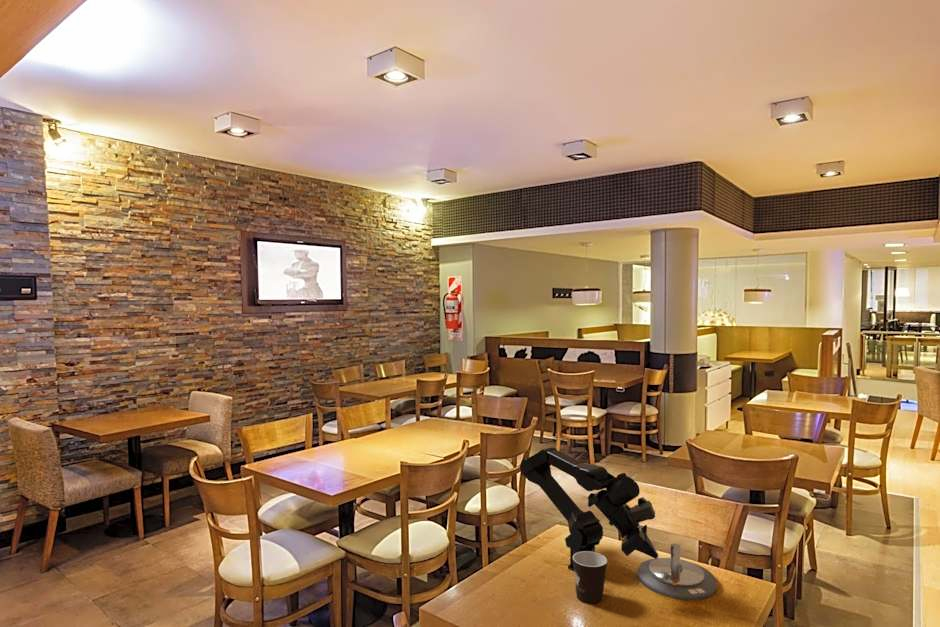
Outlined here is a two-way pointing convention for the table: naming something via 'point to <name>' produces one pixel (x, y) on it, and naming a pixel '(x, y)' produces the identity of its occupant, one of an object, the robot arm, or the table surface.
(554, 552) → the table surface
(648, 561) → the dial base
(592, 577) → the coffee mug
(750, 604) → the table surface
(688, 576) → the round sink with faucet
